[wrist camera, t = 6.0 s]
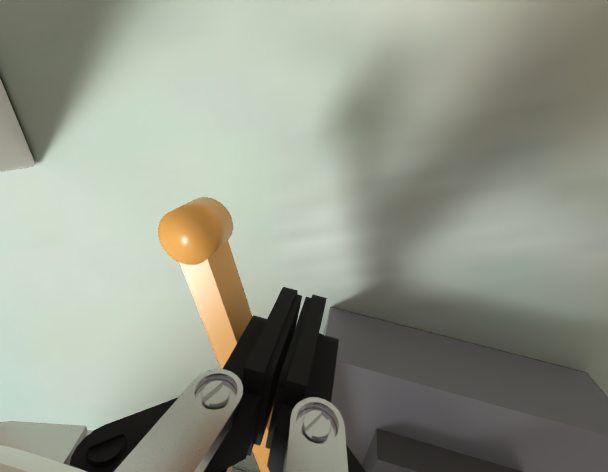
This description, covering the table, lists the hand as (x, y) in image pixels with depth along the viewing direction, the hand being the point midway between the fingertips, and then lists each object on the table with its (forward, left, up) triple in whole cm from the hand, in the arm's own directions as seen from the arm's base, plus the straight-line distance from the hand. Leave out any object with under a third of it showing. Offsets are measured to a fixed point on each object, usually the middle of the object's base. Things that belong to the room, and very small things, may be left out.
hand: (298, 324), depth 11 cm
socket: (-12, -8, -6) cm, 15 cm away
